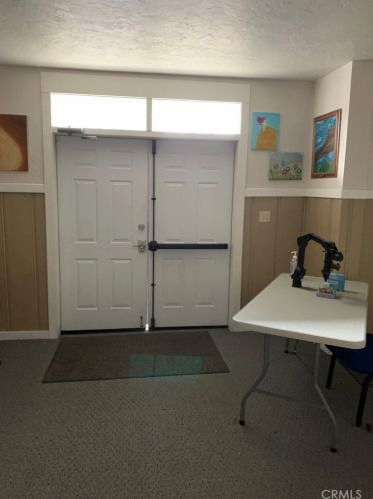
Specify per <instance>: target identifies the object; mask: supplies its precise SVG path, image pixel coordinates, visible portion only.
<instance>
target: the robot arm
mask: <svg viewBox="0 0 373 499" xmlns="http://www.w3.org/2000/svg"><path fill="white" fill-rule="evenodd" d="M310 241H313V242H315V243H317V244H318V245H320V246H321V247H322V248H323V250H322V253H324V259H323V266H322V269H321V270H320V271H321V275H322V277H323V280H324V283H328V279H329V276H330V274H331V273H332V272H333V271H334V270H335V271H337V272H340V269H341V268H342V267H341V262H343V260H344V258H345V257H344V254H343V251H339V249H338V248H337V245H336V242H335V241H333V240H327V239H325V238H322V236H321V237H320V236H318V235H317V234H315V233H314V232H308V233H306V234H304V235H301V236H297V239H296V245H297V247H298V254H297V260H296V261H297V262H296V266H295V268H294V271H293V273H292V274H291V275H290V279H291V280H292V281H291V282H292V283H291V287H293V288H298V289H299V288H301V287H302V286H303V279H304V277H305V276H306V272H307V269H306V268H305V266H304V265H305V257H306V256H305V254H306V248H307V247H308V244H309V242H310ZM335 262H337V263H335Z"/></svg>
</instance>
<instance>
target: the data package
mask: <svg viewBox="0 0 373 499" xmlns="http://www.w3.org/2000/svg"><path fill="white" fill-rule="evenodd" d="M327 283H330V284H329V287H332V288H333V291H334V290H336V292H338V291H339V292H343V291H344V290H345V285H346V275H345V274H341V273H332V272H331V274H330V276H329V279H327Z"/></svg>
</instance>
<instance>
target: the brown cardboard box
mask: <svg viewBox="0 0 373 499" xmlns="http://www.w3.org/2000/svg"><path fill="white" fill-rule="evenodd" d="M318 290H319V292H322V290H324V293H327V291H329V294H332V292H334V290H333V288H332V287H329V288H323V285H319V286H318Z"/></svg>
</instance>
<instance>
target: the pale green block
mask: <svg viewBox="0 0 373 499" xmlns="http://www.w3.org/2000/svg"><path fill="white" fill-rule="evenodd" d="M329 284H330V283H328V282H323V283H322V286H323V288H329Z"/></svg>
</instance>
